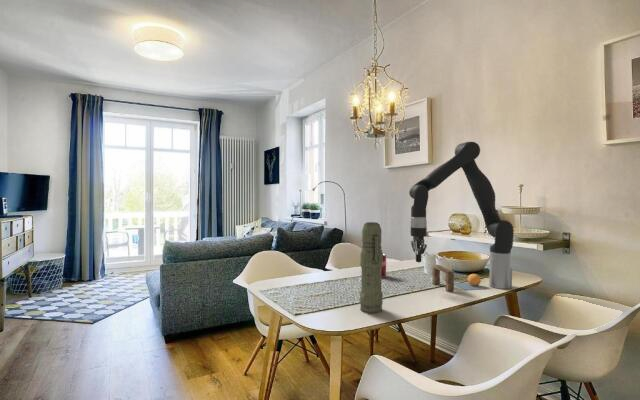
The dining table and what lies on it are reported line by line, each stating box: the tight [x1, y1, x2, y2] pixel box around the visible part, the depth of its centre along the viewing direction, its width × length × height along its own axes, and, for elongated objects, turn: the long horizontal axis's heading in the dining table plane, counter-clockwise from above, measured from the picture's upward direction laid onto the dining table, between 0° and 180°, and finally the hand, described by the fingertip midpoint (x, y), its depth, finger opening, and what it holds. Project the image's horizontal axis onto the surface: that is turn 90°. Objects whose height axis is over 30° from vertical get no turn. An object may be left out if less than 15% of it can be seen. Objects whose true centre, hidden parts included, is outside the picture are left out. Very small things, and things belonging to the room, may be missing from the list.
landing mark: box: [454, 282, 488, 291], centre depth 179 cm, size 12×12×1 cm
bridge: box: [431, 264, 455, 293], centre depth 176 cm, size 3×15×10 cm, turn 10°
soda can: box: [381, 253, 387, 279], centre depth 198 cm, size 7×7×12 cm
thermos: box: [359, 221, 384, 315], centre depth 143 cm, size 9×12×35 cm
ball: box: [467, 273, 482, 286], centre depth 179 cm, size 6×6×6 cm
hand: (418, 261), depth 173 cm, fingers closed
